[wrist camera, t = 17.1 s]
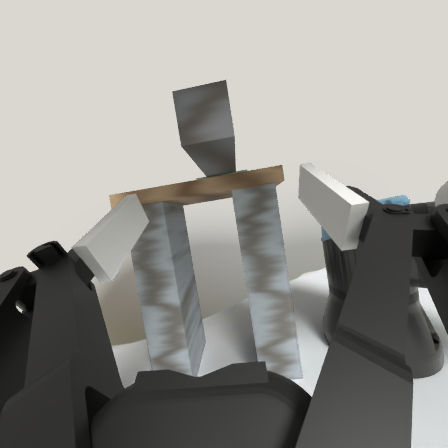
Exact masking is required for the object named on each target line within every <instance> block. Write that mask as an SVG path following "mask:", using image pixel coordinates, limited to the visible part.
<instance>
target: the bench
mask: <svg viewBox="0 0 448 448" xmlns="http://www.w3.org/2000/svg"><path fill="white" fill-rule="evenodd" d="M283 181H284V175H283V168H282V165H279V166H274V167H268V168H262V169H257V170H251V171H247V170H242V171H237V172H231V173H225V174H220V175H214V176H208V177H203V178H197V180H194V181H188V182H183V183H177V184H171V185H165V186H159V187H154V188H148V189H142V190H137V191H131V192H126V193H120V194H114V195H110V196H109V197H110V202H111V208H112V209H113V208H114V207H115V206H116V205H117V204H118V203H119V202H120V201H121V200H122V199H123V198H124V197H126V196H127V195H130V194H136V195H137V197H138V199H139V201H140V203H141V205H142V207H143V210H144V212H145V214H146V216H147V218H148V220H149V223H148V224H147V226H146V227H145V229H144V231H143V232H142V234H141V235H140V237H139V239H138V240H137V242H136V243H135V245H134V247H133V248H132V250H131V256H132V262H133V267H134V273H135V278H136V283H137V288H138V294H139V300H140V305H141V310H142V316H143V321H144V327H145V333H146V338H147V344H148V349H149V355H150V360H151V366H152V371H153V370H165V369H169V370H172V371H176V372H180V373H183V374H187V375H191V376H194V377H197V374H198V370H199V366H200V362H201V358H202V354H203V350H204V346H205V342H206V340H205V334H204V328H203V322H202V317H201V311H200V305H199V299H198V293H197V287H196V281H195V275H194V269H193V263H192V257H191V251H190V245H189V239H188V233H187V227H186V221H185V215H184V209H183V205H189V204H194V203H201V202H207V201H213V200H219V199H225V198H231V197H233V204H234V210H235V216H236V223H237V230H238V236H239V242H240V248H241V256H242V262H243V268H244V274H245V281H246V288H247V294H248V301H249V307H250V314H251V320H252V327H253V333H254V340H255V346H256V353H257V359H258V362H261V361H265V362H266V368H267V371H271V372H275V373H277V374H280V375H282V376H285V377H286V378H288V379H299V378H303V375H302V368H301V361H300V354H299V347H298V340H297V333H296V326H295V319H294V312H293V305H292V298H291V291H290V284H289V278H288V270H287V263H286V256H285V249H284V242H283V235H282V228H281V221H280V214H279V207H278V200H277V193H276V186H277V185H278V184H280V183H281V182H283Z"/></svg>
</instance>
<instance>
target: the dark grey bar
mask: <svg viewBox="0 0 448 448" xmlns="http://www.w3.org/2000/svg"><path fill="white" fill-rule="evenodd" d="M226 84H227V83H226V80H224V81H219V82H214V83H210V84H205V85H200V86H196V87H192V88H187V89H182V90H177V91H173V98H174V104H175V110H176V116H177V122H178V129H179V135H180V141H181V146H182V147H183V149H184V150H185V151H186V152H187V153H188V155H189V156H190V157H191V158H192V160H193V161H194V162H195V163H196V164H197V166H198V167H199V168H200V169H201V170H202V171H203V172H204V174H205V175H206V176H207V177H208V176H214V175H220V174H225V173H231V172H236V167H235V166H236V165H235V137H234V130H233V123H232V117H231V110H230V103H229V97H228V90H227V85H226Z"/></svg>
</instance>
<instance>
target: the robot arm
mask: <svg viewBox="0 0 448 448" xmlns="http://www.w3.org/2000/svg"><path fill="white" fill-rule="evenodd" d="M299 199H300V200H301V201H302V203H303V204H304V205H305V206H306V208H307V209H308V210H309V211H310V213H311V214H312V215H313V216H314V217H315V219H316V220H317V221H318V222H319V224H320V225H321V228H322V238H321V241H322V242H323V249H324V256H325V263H326V270H327V277H328V284H329V297H328V301H327V305H326V309H325V313H324V317H323V326H324V334H325V337H326V339H327V341H328V343H329V344H330V345H329V348H328V351H327V354H326V357H325V360H324V363H323V366H322V369H321V372H320V375H319V378H318V381H317V384H316V387H315V390H314V393H313V396H312V397H311V396H310V395H309V394H308V393H307V392H306V391H305V390H304V389H303V388H301V387H300V386H299V385H297V384H296V383H295V382H293V381H292V380H290V379H288V378H286V377H285V376H282V375H280V374H277V373H275V372H271V371H267V368H266V362H265V361H261V362H249V363H237V364H231V365H229V366H226V367H224V368H221V369H219V370H216V371H214V372H212V373H209V374H207V375H204V376H202V377H194V376H191V375H187V374H183V373H180V372H176V371H172V370H169V369H165V370H153V371H141V372H138V374H137V377H136V380H135V383H134V384H132V385H131V386H129V387H127V388H125V389H124V387H123V385H122V382H121V379H120V376H119V372H118V369H117V365H116V361H115V358H114V354H113V351H112V347H111V343H110V340H109V336H108V333H107V329H106V325H105V322H104V318H103V315H102V311H101V307H100V304H99V300H98V296H97V293H96V289H95V286H94V284H93V283H92V282H91V280H92V278H93V277H94V276H95V277H96V278H97V279H98V281H99V282H107V281H112V280H113V278H114V277H115V275H116V274H117V272H118V270H119V269H120V267H121V266H122V264H123V263H124V261H125V259H126V258H127V256H128V254H129V253H130V251H131V250H132V248H133V247H134V245H135V243H136V242H137V240H138V239H139V237H140V235H141V234H142V232H143V231H144V229H145V227H146V226H147V224H148V223H149V220H148V218H147V216H146V214H145V212H144V210H143V207H142V205H141V203H140V201H139V199H138V197H137V195H136V194H130V195H127V196H126V197H124V198H123V199H122V200H121V201H120V202H119V203H118V204H117V205H116V206H115V207H114V208H113V209H112V210H111V211H110V212H109V213H108V214H107V215H106V216H105V217H104V218H102V219H101V220H100V221H99V222H98V223H97V224H96V225H95V226H94V227H93V228H92V229H91V230H90V231H89V232H88V233H87V234H86V235H85V236H84V237H83V238H81V240H79V241H78V242H77V243H76V244H75V245H74V246H73V247H72V249H71V250H70V251H69V252H68V253H67V252H66V251H65V250H64V249H63V248H62V246H61V245H60V244H59V243H58V242H57V241H51V242H47V243H45V244H42V245H41V246H38V247H37V248H35V249H33V250H32V251H31V252H30V253H28V255H27V257H28V258H29V259H30V260H31V261H32V262H33V263H34V264H35V265H36V266H37V267H38V268H39V269H38V270H36V271H33V272H29V271H28V270H27V269H26V268H24V267H23V266H22V267H16V268H14V269H11V270H7V271H6V272H4V273H2V274H1V275H0V448H411V430H412V400H413V378H424V377H428V376H431V375H434V374H436V373H437V372H439V371H440V370H441V368H442V367H443V364H444V357H443V348H442V343H441V341H440V339H439V337H438V335H437V333H436V332H435V330H434V328H433V326H432V324H431V322H430V320H429V318H428V317H427V315H426V313H425V311H424V309H423V308H422V306H421V304H420V301H419V293H418V287H421V288H428V291H429V293H430V295H431V298H432V300H433V302H434V304H435V307H436V309H437V311H438V314H439V316H440V318H441V320H442V323H443V325H444V327H445V330H446V332H447V334H448V181H447V182H446V183H445V184H444V185H443V186H442V187H441V188H440V189H439V190H438V192H437V194H436V198H435V202H427V203H418V204H409V203H410V200H409V199H408V198H407V196H405V195H401V196H395V197H390V198H386V199H381V200H375V199H374V198H372V197H370V196H368V195H367V194H366V193H363V192H362V191H361V190H359V189H358V188H354V187H351V186H344V185H343V184H341V183H340V182H338V181H337V180H335V179H334V178H332V177H331V176H329V175H328V174H326V173H324V172H323V171H322V170H320V169H319V168H317V167H316V166H314V165H313V164H311V163H307V164H302V165H300V176H299ZM16 305H17V306H18V307H19V308H21V309H22V310H23V311H22V313H21V312H19V311H18V309H17V308H16Z"/></svg>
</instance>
